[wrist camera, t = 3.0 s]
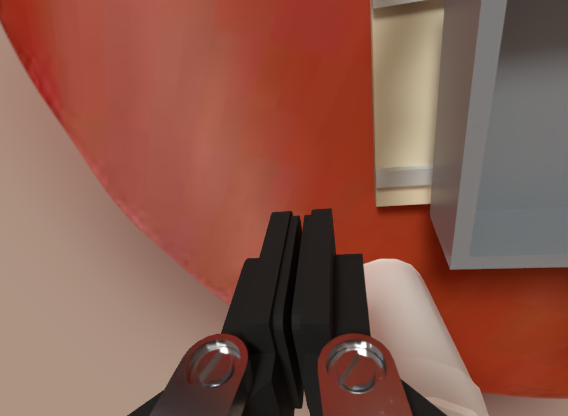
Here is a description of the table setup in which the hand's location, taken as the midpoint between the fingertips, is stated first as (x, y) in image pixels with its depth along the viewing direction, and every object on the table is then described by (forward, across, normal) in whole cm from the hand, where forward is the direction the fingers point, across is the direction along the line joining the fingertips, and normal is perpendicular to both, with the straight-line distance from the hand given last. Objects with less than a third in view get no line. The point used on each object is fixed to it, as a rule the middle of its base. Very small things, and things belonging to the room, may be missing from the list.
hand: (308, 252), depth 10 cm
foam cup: (+17, -4, +17) cm, 24 cm away
